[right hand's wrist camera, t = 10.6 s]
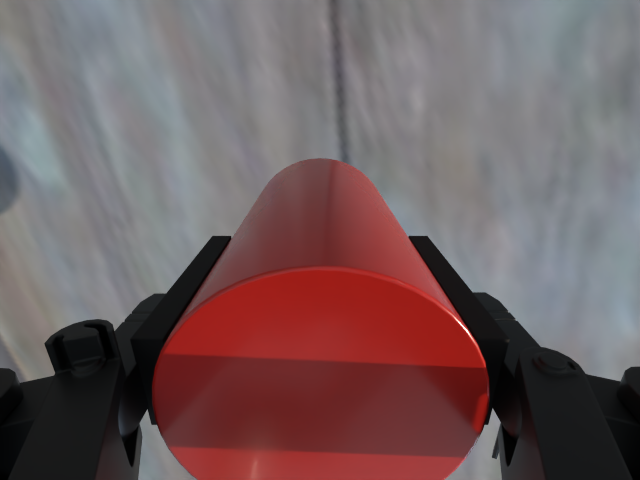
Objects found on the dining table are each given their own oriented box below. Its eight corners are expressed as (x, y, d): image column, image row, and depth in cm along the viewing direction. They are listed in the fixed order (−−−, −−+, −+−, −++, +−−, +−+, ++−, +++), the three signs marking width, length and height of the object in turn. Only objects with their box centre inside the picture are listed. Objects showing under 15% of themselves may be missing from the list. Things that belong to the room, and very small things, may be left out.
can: (241, 169, 18) (94, 295, 6) (379, 147, 17) (498, 240, 6) (270, 288, 21) (204, 534, 9) (390, 272, 20) (486, 506, 8)
